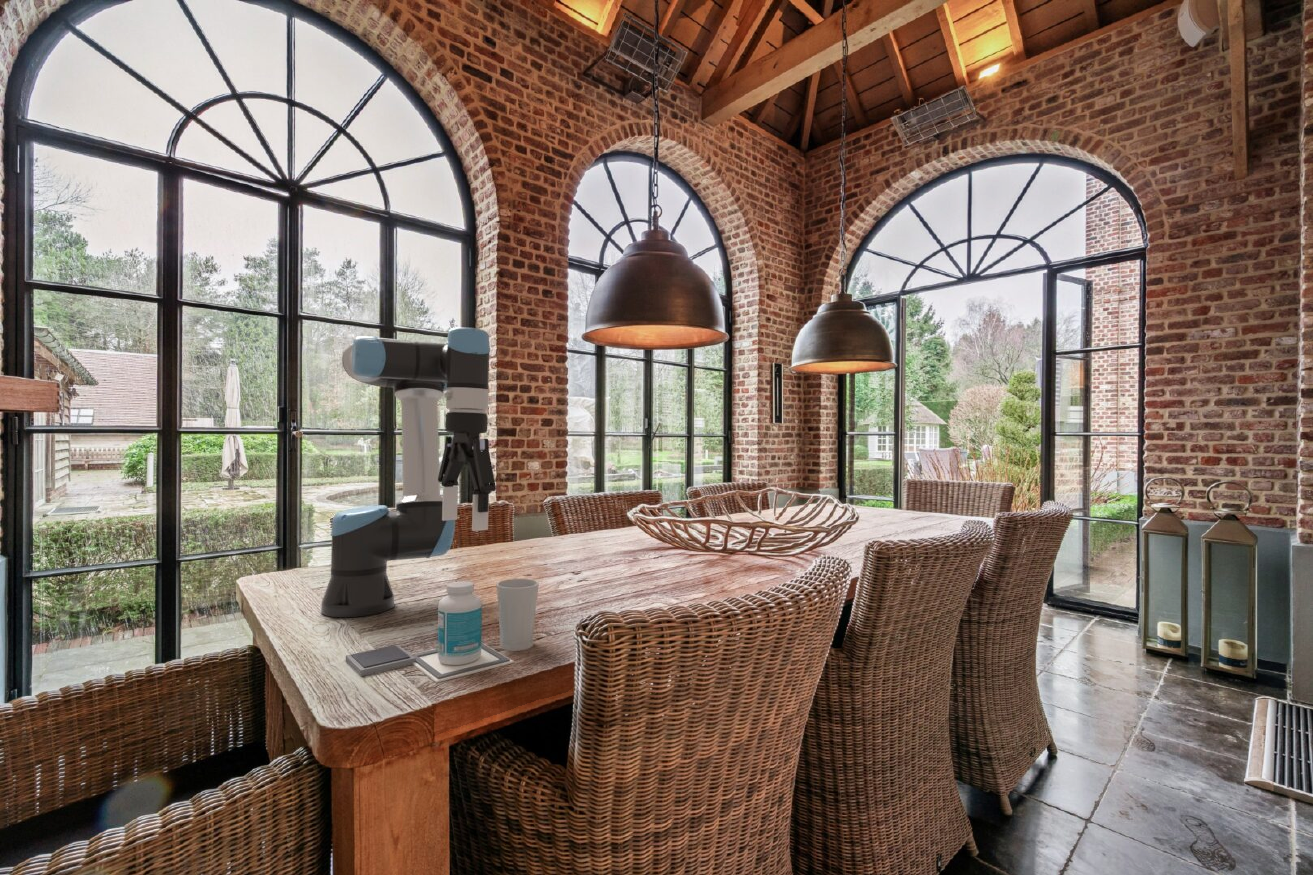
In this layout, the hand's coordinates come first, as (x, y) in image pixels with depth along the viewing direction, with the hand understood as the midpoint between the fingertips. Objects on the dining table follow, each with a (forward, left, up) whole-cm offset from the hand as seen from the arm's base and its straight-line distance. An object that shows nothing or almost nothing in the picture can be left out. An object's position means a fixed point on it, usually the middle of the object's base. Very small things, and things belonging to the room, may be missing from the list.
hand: (464, 525), depth 113 cm
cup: (+3, +10, -24) cm, 26 cm away
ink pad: (-4, -13, -24) cm, 27 cm away
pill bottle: (+4, -2, -24) cm, 24 cm away
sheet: (+4, -2, -24) cm, 24 cm away
